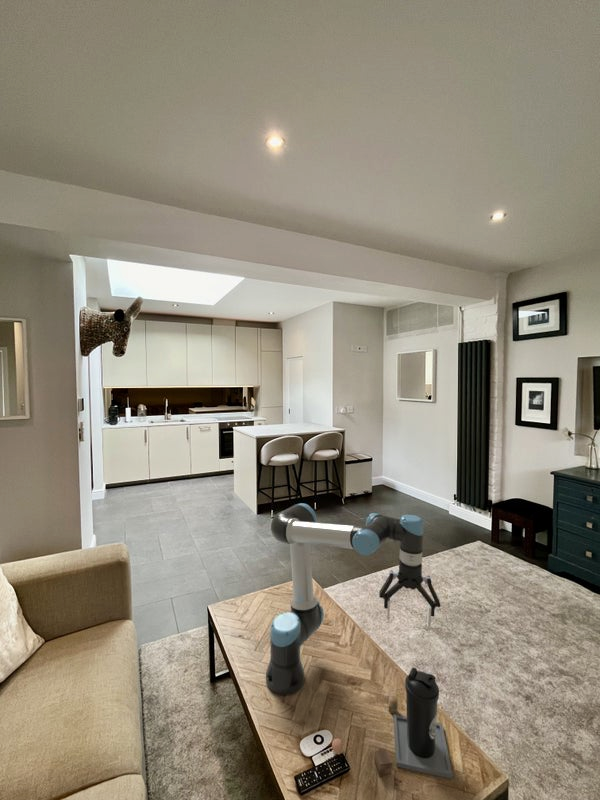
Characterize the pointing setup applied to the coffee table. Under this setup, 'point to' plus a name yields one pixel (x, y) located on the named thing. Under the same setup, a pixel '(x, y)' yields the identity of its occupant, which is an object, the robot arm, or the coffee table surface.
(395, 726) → the tray
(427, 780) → the coffee table surface
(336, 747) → the rubber ball
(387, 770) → the walnut cube
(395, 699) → the cylinder
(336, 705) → the coffee table surface
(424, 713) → the water bottle
